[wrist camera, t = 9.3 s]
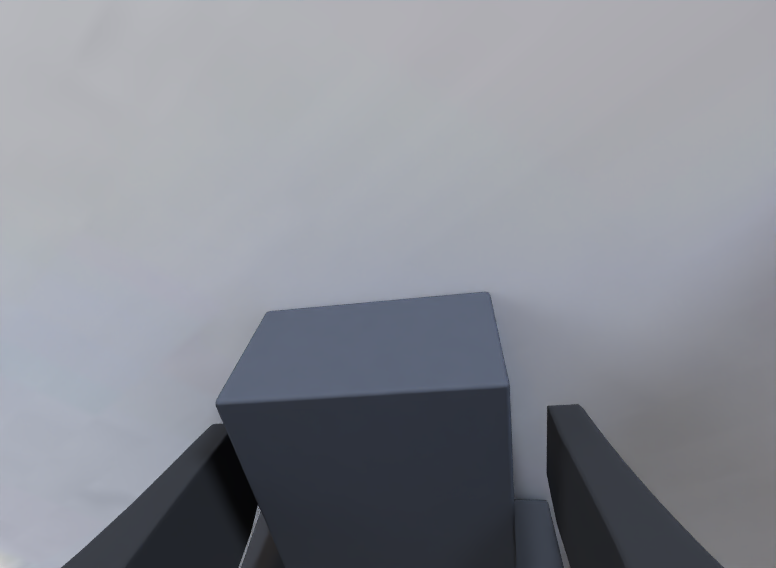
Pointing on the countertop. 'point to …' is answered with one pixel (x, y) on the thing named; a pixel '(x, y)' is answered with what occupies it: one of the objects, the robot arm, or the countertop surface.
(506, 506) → the graphite pad
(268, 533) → the black pad
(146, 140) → the countertop surface
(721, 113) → the countertop surface
